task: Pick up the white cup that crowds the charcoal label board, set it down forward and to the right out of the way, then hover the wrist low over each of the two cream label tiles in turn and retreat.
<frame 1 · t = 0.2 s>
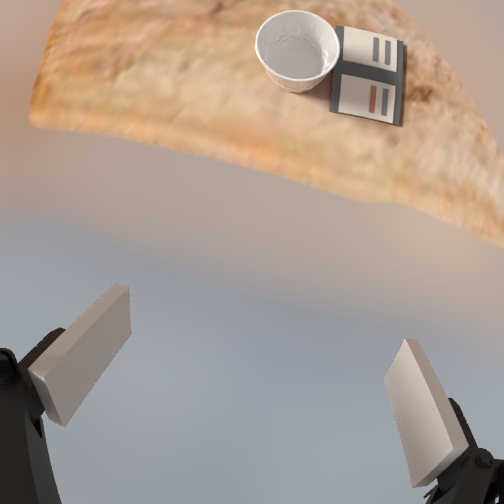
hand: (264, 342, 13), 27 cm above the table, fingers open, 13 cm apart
label board: (367, 74, 31), on the table
white cup: (295, 68, 32), on the table
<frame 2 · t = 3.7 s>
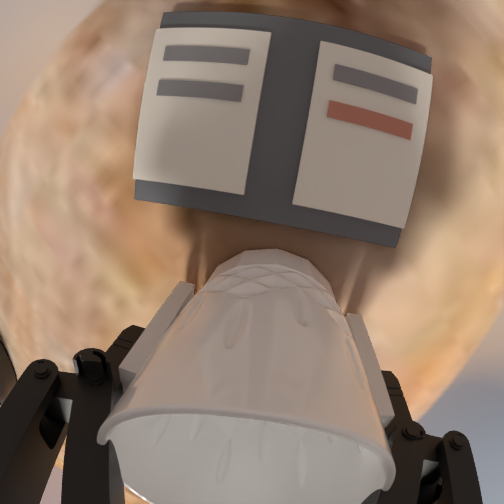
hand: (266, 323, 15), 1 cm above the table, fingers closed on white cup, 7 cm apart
label board: (283, 116, 12), on the table
white cup: (268, 308, 15), on the table, touching gripper
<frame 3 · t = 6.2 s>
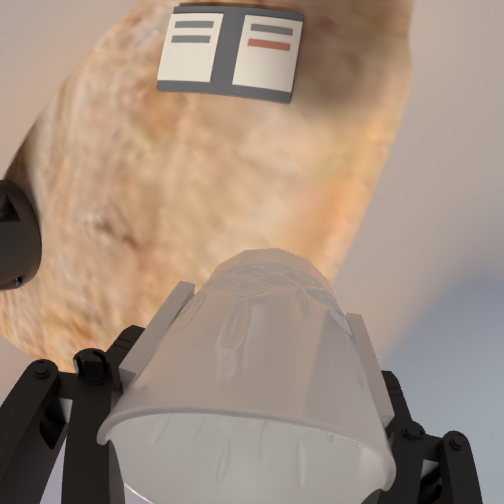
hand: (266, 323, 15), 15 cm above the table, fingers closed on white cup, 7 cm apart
label board: (229, 50, 23), on the table
white cup: (268, 307, 15), point 14 cm above the table, touching gripper
when the fingers open (2 cm above the table, at t = 9.1 s): white cup drops 1 cm, on the table.
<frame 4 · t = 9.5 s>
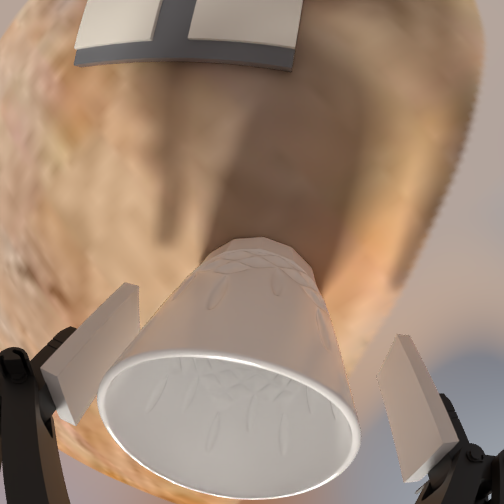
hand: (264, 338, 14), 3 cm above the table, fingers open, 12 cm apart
white cup: (256, 292, 17), on the table
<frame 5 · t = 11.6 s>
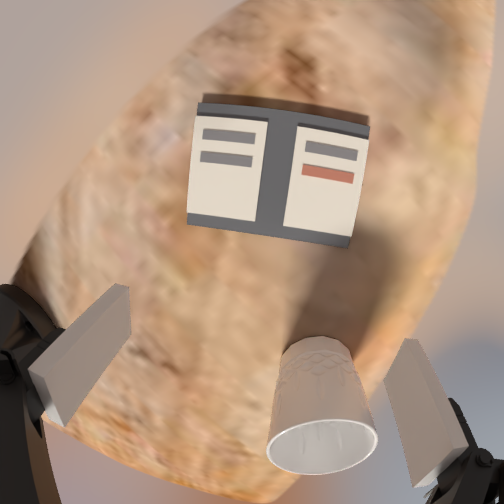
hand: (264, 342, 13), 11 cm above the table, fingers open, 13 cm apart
label board: (276, 172, 21), on the table
white cup: (315, 362, 27), on the table
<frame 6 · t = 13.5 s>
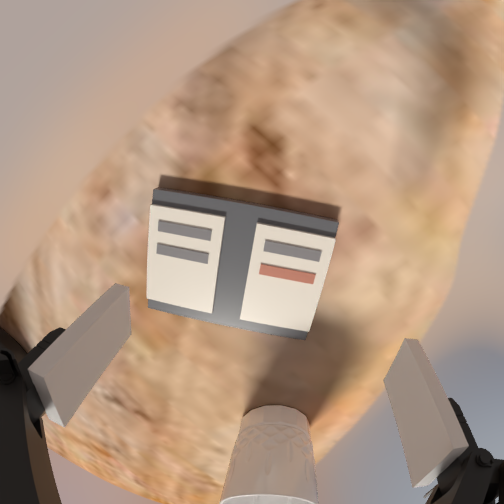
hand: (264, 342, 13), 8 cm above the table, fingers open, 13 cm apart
label board: (235, 265, 21), on the table
white cup: (275, 423, 27), on the table
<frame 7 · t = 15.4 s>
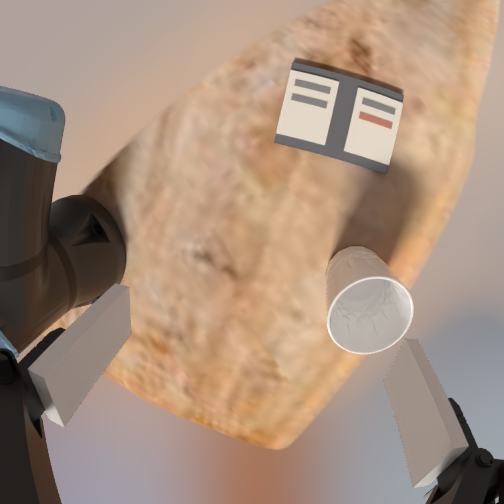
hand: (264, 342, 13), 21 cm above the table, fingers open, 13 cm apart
label board: (340, 116, 28), on the table
white cup: (354, 272, 34), on the table
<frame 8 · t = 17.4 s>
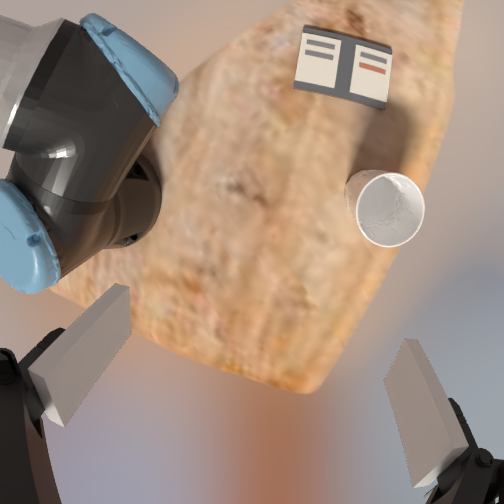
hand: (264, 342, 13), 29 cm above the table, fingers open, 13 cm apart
label board: (344, 67, 33), on the table
white cup: (367, 194, 38), on the table
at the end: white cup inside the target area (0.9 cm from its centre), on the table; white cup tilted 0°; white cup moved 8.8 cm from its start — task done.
